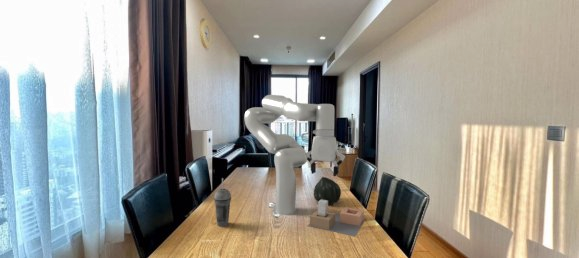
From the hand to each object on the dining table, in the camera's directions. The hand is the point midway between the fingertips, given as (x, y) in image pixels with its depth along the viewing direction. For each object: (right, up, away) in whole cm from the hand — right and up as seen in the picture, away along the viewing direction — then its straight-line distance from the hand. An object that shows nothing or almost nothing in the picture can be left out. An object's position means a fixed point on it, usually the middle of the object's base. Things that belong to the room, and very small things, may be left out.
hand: (324, 174), depth 113 cm
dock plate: (+6, -23, +4) cm, 24 cm away
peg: (0, -21, +1) cm, 22 cm away
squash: (+6, -22, +34) cm, 41 cm away
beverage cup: (-43, -22, +3) cm, 49 cm away
